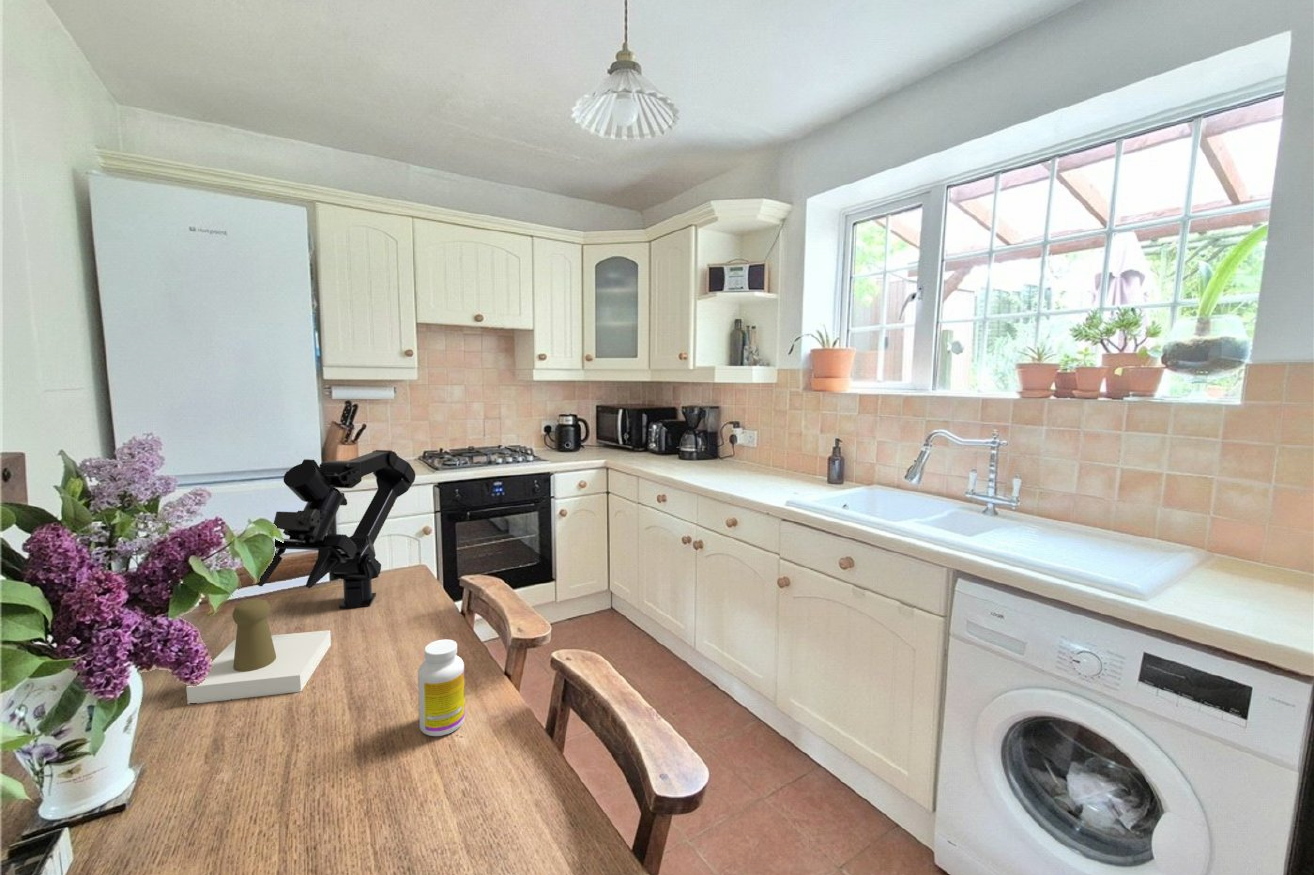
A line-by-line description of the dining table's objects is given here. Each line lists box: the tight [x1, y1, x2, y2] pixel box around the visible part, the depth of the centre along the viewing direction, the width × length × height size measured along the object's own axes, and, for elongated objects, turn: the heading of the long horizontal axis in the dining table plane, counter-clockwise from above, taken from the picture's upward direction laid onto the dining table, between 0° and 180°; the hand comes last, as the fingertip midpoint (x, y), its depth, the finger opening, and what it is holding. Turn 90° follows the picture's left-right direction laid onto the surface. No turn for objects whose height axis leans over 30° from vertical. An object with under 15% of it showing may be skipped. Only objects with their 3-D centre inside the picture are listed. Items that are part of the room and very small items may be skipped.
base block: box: [185, 629, 332, 704], centre depth 95 cm, size 16×16×3 cm
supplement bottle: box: [417, 638, 466, 737], centre depth 82 cm, size 7×7×13 cm
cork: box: [232, 598, 276, 672], centre depth 92 cm, size 6×6×11 cm
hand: (283, 586), depth 100 cm, fingers open, 9 cm apart
